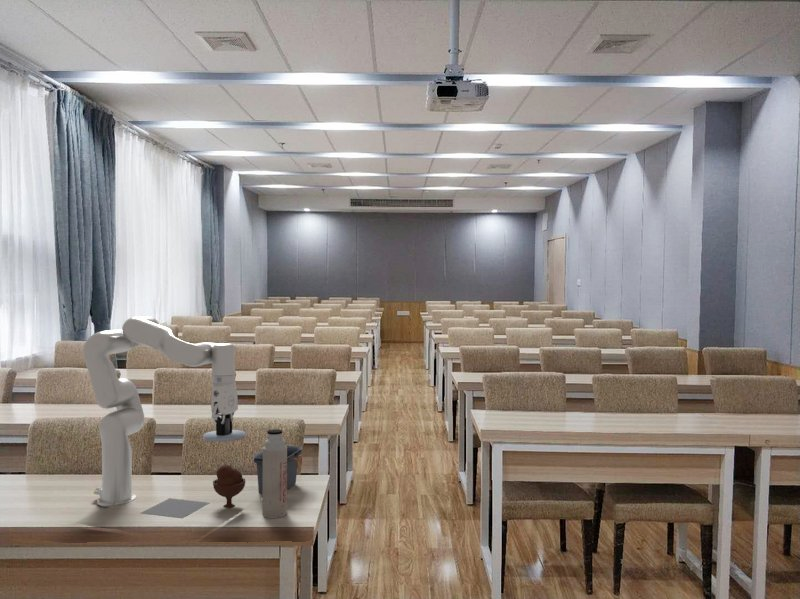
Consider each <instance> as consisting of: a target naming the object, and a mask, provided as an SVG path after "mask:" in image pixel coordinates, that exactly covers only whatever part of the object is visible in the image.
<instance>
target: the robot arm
mask: <svg viewBox="0 0 800 599" xmlns="http://www.w3.org/2000/svg"><path fill="white" fill-rule="evenodd" d="M139 346H144V347H147V348H150V349H152V350H155V351H158V352H160V353H161V354H162V355H163V356H165V357H166V358H167V359H169V360H171V361H173V362H175V363H179V364H182V365H184V366H187V367H191V368H192V367H193V368H196V367H200V366H203V365H204V366H205V365H208V364H209V365H210V364H211V383H212V384H211V385H212V387H211V388H212V389H211V396H210V397H211V400H210V402H211V404H210V408H211V410H210V412H211V418H212V419H213V420H214V423H215V429H216V430H215V431H216V435H220V436H224V435H225V424H224V418H229V419H230V433H232V430H233V420H234V414H235V413H236V412H237V411H238V409H239V401H238V400H239V399H238V390H237V388H238V387H237V384H236V347H235V345H234V344H233V343H229V342H227V343H226V342H219V343H217V342H209V341H205V342H198V343H190V342H187V341H184V340H181V339H179V338H178V337H176V336H175V335H174V331H173V329H172V328H170V327H167V326H164V325H161V324H160V323H159V322H158V320H157V319H156V318H154V317H153V316H149V315H145V316H144V315H141V316H133V317H129V318H128V319H126V321H125V320H124V322H123V324H122V328H118V329H109V330H108V329H106V330H100V331H97V332H95V333H93V334H92V335H90V336H89V337H88V338H87V339H86V341H85V343H84V345H83V349H82V355H83V356H82V357H83V361H84V364H85V366H86V368H87V371H88V374H89V378H90V383H91V386H92V390H93V393H94V398H95V401H96V404H97V405H98V407H100V408H101V409H105V410H108V409H113V408H115V409H116V410H115V411H112V412H111V411H110V413H109V412H108V414H106V415H105V416H103V417H102V419H101V420H100V422H99V426H98V431H99V437H100V442H101V476H102V477H101V487H100V486H97V487H96V488H95V490H94V492H93V495H99V498H98V499H97V500H96V501H97V502H96V503H97V505H99V506H100V507H103V508H110V507H112V506H117V505H124V504H127V503H131V502H132V501H133V502H134V500H136V499H137V495H136V494H134V493H132V492H133V490H132V489H133V488H132V486H133V483H132V481H133V480H132V479H133V476H132V474H133V472H132V468H133V464H132V463H133V460H132V458H133V456H132V453H133V452H132V445H131V441H130V439H129V436H130V435H132V434H135V433H137V432H139V431H140V430H141V429H143V427H144V425H145V413H144V409H143V407H142V403H141V402H142V401H141V399H140V395H139V392H138V389H137V388H138V387H136V385H135V383H134V382H133V381H131V380H130V379H128V378H125V377H124V378H119V377H118V374H117V371H116V367H115V365H114V363H113V362H112V360H111V359H110V358H109V356H110V355H114V354H122V353H125V352H128V351H131V350H133V349H135V348H137V347H139Z"/></svg>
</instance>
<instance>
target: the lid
mask: <svg viewBox="0 0 800 599" xmlns="http://www.w3.org/2000/svg"><path fill="white" fill-rule="evenodd" d="M224 424H225V435H224V436H220V435H216V430H212V431H209V432H204V433H203V435H202V440H204V441H205V442H206V441H207V442H213V443H217V442H219V443H220V442H221V443H223V442H231V441H232V442H233V441H237V440H241V439H244V438H245V437H246V435H247V434H246V431H244V430H241V429H240V430H239V429H232V433H230V419H229V418H224Z"/></svg>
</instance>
